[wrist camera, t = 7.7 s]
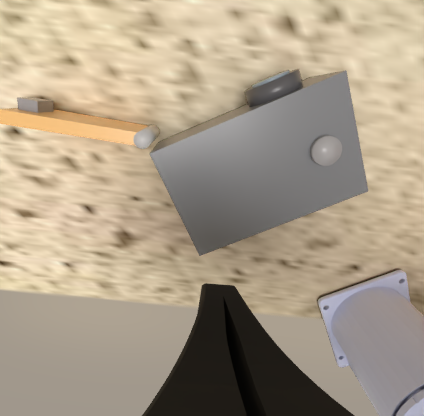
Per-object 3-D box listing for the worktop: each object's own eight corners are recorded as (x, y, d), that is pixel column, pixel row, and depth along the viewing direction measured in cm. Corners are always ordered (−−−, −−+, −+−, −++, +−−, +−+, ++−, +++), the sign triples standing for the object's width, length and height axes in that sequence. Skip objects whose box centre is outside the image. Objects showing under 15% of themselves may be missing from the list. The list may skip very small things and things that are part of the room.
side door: (41, 119, 18) (-1, 125, 14) (40, 97, 17) (-5, 96, 13) (158, 139, 19) (149, 149, 15) (160, 118, 18) (152, 123, 14)
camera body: (332, 172, 21) (373, 193, 16) (197, 225, 21) (198, 260, 17) (306, 60, 18) (347, 46, 13) (150, 127, 18) (136, 137, 14)
